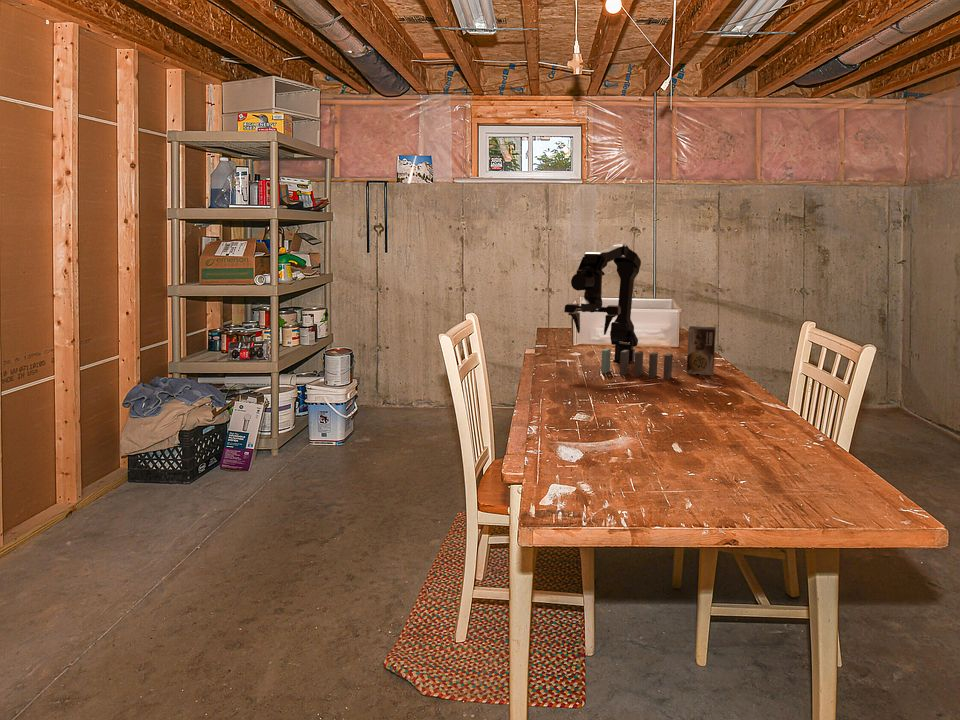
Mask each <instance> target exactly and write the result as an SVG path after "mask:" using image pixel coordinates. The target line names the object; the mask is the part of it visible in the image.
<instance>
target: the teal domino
mask: <svg viewBox="0 0 960 720" xmlns="http://www.w3.org/2000/svg"><path fill="white" fill-rule="evenodd" d="M611 350H612V348H607V347H606V348H605V349H602V350H601V366H600V367H601V370H600V372H601V373H600V374H604V373H605V374H607V372H608V373H609V371H610V372H611V356H612V354H611V352H612V351H611Z"/></svg>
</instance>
